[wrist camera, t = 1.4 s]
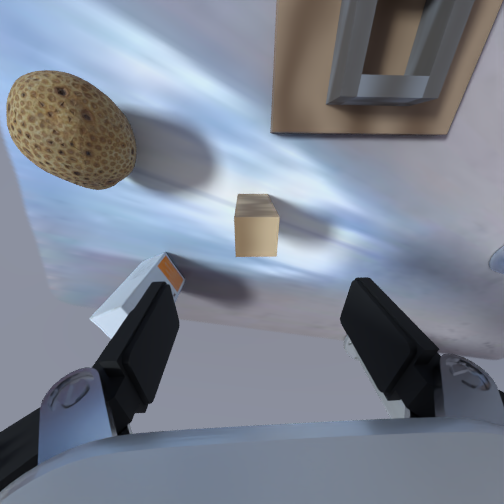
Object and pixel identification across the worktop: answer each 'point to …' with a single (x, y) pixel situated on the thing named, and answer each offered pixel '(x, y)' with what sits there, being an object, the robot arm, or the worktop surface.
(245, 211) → the oak peg
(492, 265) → the beer glass
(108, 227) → the worktop surface
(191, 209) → the worktop surface
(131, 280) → the skincare box
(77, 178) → the natural sponge
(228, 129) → the worktop surface
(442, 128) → the peg caddy
